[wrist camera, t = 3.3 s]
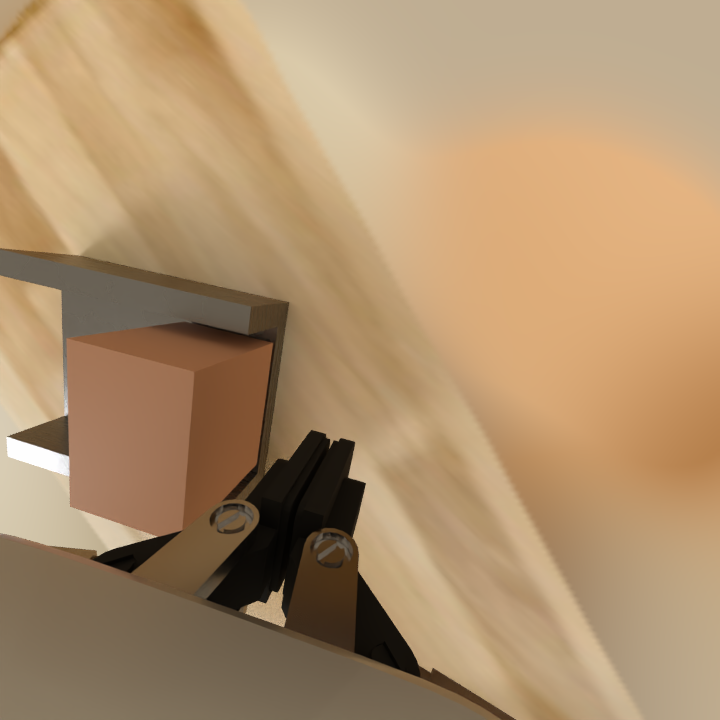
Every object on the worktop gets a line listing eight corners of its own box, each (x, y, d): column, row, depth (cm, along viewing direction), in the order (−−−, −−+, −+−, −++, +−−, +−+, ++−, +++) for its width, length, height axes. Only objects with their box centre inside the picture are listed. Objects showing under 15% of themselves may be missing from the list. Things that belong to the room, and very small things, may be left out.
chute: (288, 302, 18) (251, 306, 14) (263, 481, 20) (225, 527, 16) (78, 255, 19) (-8, 247, 15) (80, 426, 22) (8, 456, 18)
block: (273, 342, 17) (194, 371, 11) (256, 464, 18) (180, 544, 13) (184, 321, 17) (66, 338, 12) (176, 440, 19) (70, 506, 13)
